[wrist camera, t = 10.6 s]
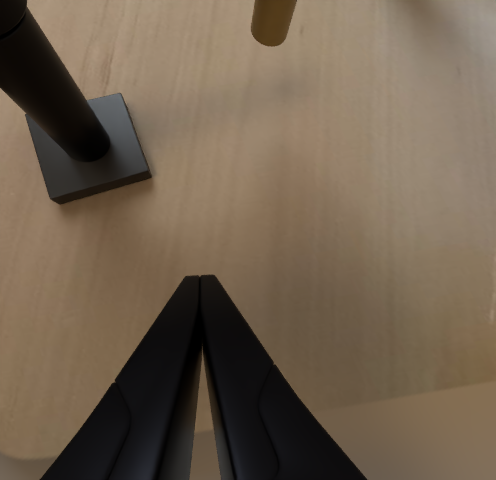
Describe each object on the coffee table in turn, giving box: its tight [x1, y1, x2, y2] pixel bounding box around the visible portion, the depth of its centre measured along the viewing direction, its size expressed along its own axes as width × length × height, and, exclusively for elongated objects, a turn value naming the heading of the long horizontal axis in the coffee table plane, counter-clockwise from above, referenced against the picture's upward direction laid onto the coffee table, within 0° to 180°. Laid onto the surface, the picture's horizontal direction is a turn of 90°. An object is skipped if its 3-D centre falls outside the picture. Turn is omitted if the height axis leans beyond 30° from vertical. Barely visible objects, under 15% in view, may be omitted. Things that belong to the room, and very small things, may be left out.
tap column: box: [0, 7, 152, 204], centre depth 16 cm, size 7×7×11 cm
